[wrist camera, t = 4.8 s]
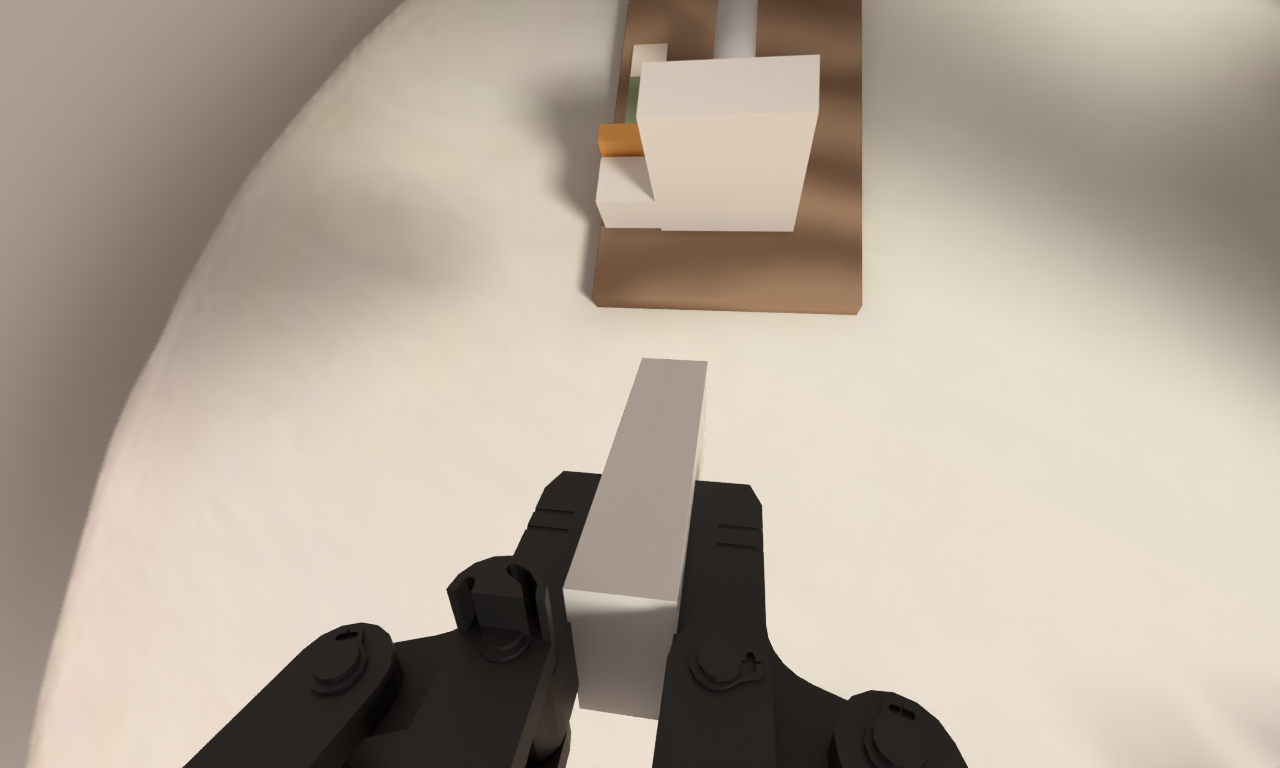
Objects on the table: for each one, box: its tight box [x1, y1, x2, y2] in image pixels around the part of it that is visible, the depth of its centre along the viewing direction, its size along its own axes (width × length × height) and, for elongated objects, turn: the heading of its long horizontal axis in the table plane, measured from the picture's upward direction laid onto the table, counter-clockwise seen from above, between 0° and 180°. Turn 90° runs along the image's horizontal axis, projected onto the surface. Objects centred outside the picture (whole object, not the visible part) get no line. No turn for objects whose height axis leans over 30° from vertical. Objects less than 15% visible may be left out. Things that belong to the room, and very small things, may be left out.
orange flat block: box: [597, 123, 645, 157], centre depth 34 cm, size 1×3×4 cm, turn 85°
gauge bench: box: [592, 0, 862, 315], centre depth 33 cm, size 33×16×12 cm, turn 174°
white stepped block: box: [595, 0, 820, 232], centre depth 31 cm, size 12×12×10 cm
